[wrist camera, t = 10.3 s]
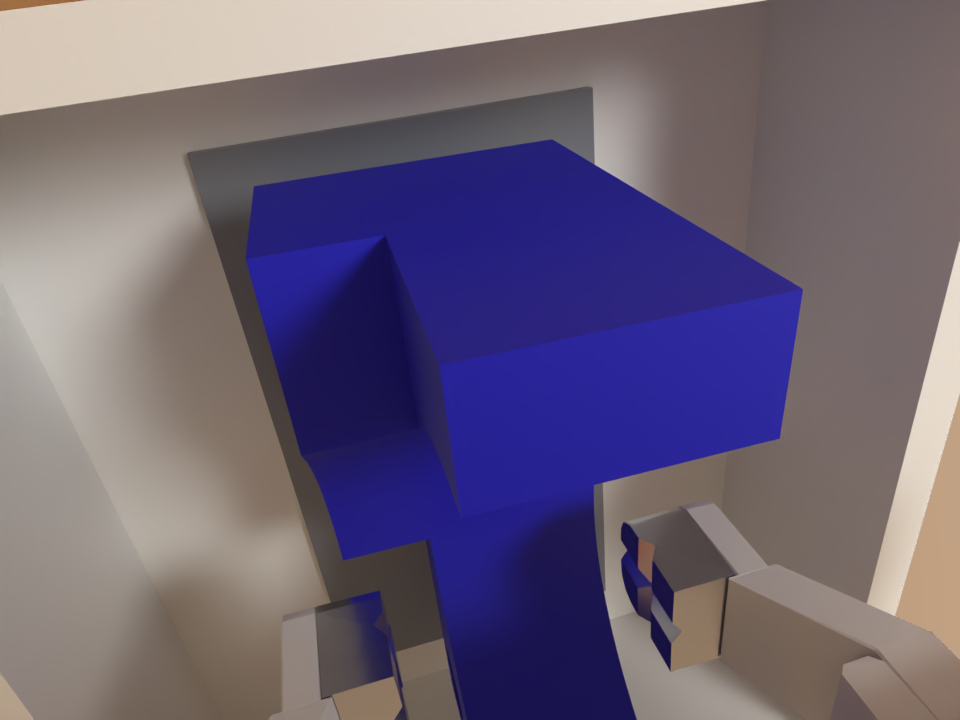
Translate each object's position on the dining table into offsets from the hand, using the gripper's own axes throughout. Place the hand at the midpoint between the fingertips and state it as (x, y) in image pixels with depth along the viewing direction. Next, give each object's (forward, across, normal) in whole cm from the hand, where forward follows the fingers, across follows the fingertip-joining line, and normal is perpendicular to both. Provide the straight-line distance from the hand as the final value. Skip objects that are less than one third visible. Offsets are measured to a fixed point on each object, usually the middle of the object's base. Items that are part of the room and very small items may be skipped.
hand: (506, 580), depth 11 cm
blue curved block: (+3, 0, 0) cm, 3 cm away
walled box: (+6, 0, 0) cm, 6 cm away
